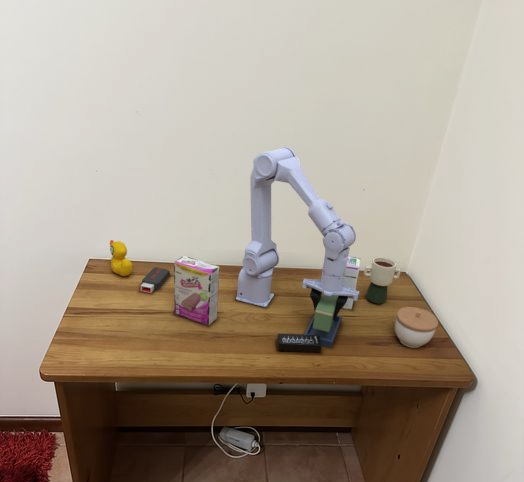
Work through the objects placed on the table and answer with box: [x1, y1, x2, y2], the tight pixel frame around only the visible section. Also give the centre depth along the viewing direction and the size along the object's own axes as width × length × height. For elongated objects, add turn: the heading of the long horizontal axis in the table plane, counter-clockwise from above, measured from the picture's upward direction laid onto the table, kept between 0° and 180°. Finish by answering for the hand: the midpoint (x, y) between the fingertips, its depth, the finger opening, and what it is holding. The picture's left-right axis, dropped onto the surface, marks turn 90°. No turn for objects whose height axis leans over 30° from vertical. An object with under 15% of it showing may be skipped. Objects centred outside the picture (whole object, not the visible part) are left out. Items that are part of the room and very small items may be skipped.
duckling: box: [109, 239, 134, 277], centre depth 149 cm, size 11×5×10 cm, turn 39°
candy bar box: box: [173, 255, 220, 327], centre depth 130 cm, size 11×5×16 cm, turn 65°
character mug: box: [362, 256, 402, 304], centre depth 147 cm, size 11×7×13 cm, turn 90°
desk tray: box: [303, 312, 343, 349], centre depth 133 cm, size 8×13×2 cm, turn 161°
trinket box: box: [394, 306, 439, 349], centre depth 131 cm, size 11×11×9 cm
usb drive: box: [139, 266, 171, 294], centre depth 147 cm, size 5×12×3 cm, turn 167°
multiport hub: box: [276, 333, 323, 353], centre depth 126 cm, size 4×11×2 cm, turn 92°
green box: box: [313, 292, 339, 332], centre depth 130 cm, size 10×4×6 cm, turn 161°
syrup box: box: [342, 255, 361, 310], centre depth 143 cm, size 6×6×14 cm
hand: (325, 316), depth 131 cm, fingers closed on green box, 4 cm apart
